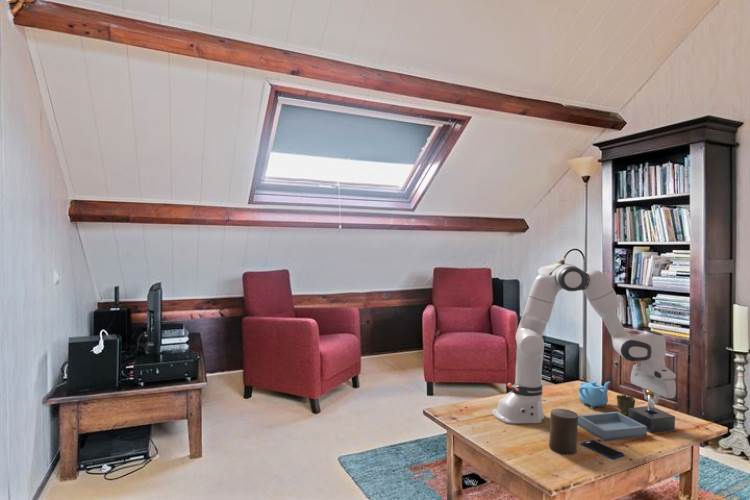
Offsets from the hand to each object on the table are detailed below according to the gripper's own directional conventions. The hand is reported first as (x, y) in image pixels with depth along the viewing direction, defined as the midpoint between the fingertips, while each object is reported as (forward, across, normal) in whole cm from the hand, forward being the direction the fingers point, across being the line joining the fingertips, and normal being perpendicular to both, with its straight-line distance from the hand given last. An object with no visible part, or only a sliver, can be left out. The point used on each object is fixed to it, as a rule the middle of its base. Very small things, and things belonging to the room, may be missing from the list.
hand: (651, 401), depth 198 cm
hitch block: (+11, 0, 0) cm, 11 cm away
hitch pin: (+8, 0, 0) cm, 8 cm away
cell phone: (+11, +14, -36) cm, 40 cm away
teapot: (+11, -27, -6) cm, 30 cm away
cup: (+11, -13, -1) cm, 17 cm away
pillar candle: (+11, +10, -50) cm, 52 cm away
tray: (+11, 0, -20) cm, 22 cm away
